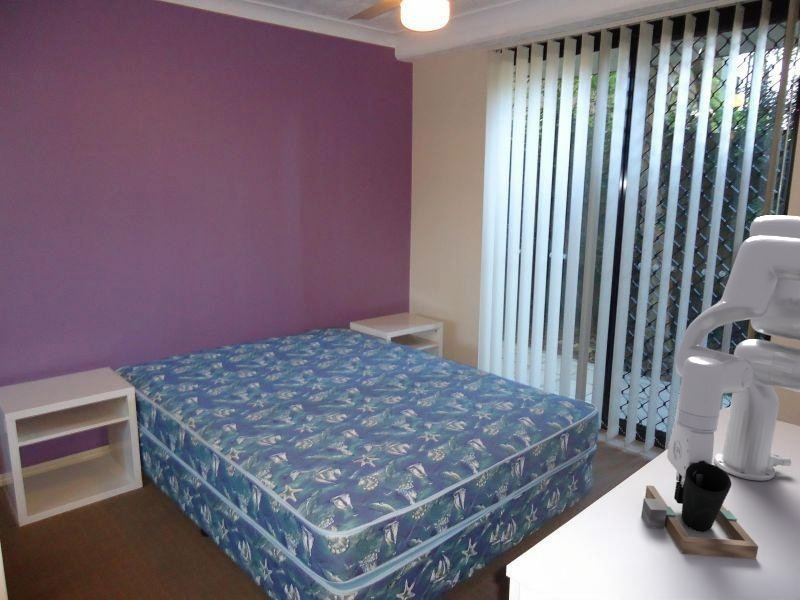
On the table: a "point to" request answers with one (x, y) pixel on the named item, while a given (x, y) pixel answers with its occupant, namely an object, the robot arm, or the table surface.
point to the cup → (703, 496)
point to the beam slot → (739, 546)
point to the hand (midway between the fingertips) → (683, 501)
